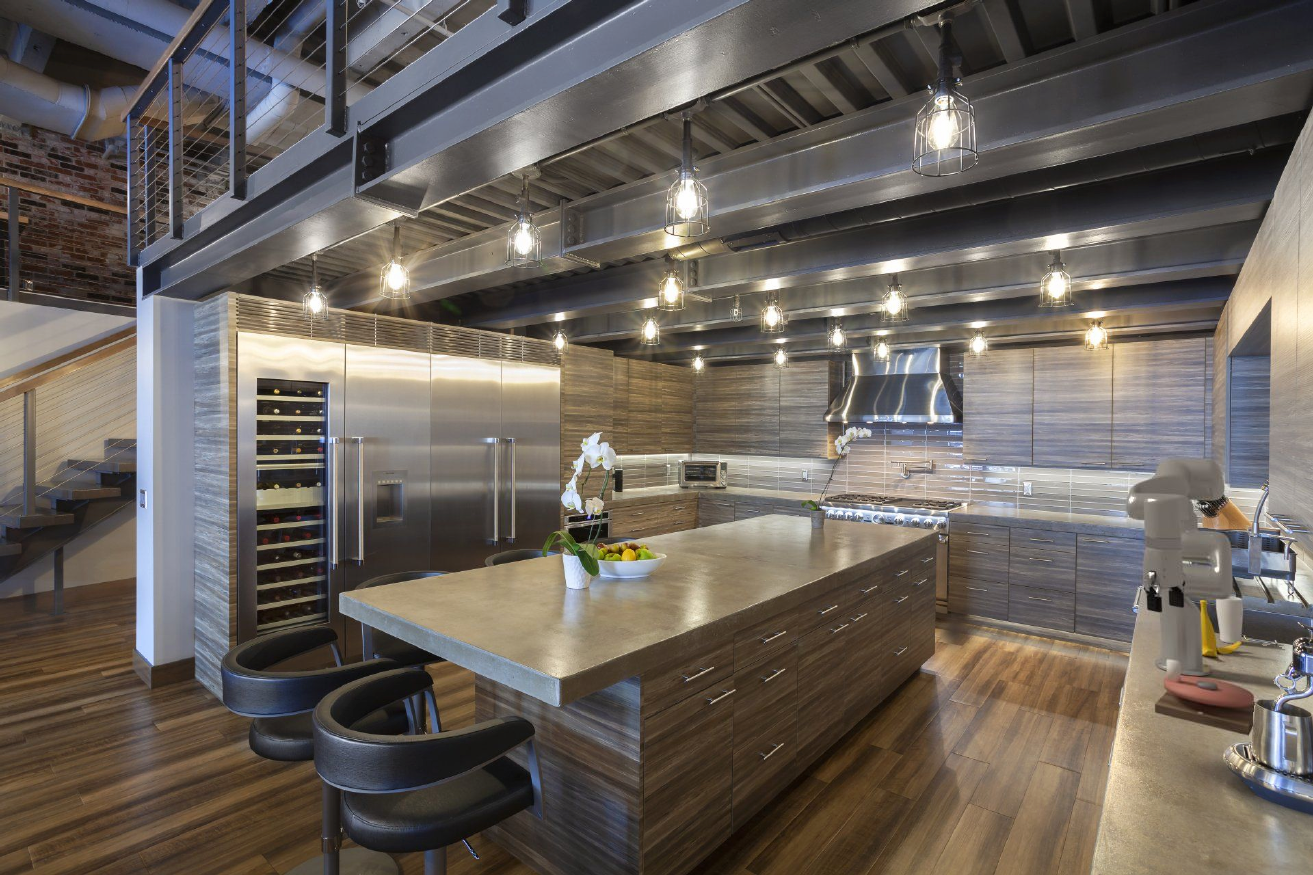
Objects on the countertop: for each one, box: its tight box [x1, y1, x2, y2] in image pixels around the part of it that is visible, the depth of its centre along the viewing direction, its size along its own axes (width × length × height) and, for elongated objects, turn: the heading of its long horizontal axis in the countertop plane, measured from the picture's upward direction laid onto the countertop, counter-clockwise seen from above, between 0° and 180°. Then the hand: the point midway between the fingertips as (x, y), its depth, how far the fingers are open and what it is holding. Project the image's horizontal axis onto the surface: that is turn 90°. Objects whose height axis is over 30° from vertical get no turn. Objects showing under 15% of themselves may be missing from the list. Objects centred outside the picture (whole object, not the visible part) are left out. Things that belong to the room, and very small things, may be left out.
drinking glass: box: [1215, 595, 1244, 645], centre depth 212 cm, size 7×7×15 cm
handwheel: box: [1163, 660, 1255, 707], centre depth 157 cm, size 17×17×6 cm
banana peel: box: [1199, 599, 1243, 658], centre depth 201 cm, size 17×19×17 cm
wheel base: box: [1154, 690, 1256, 736], centre depth 157 cm, size 20×17×4 cm
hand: (1165, 608), depth 164 cm, fingers open, 9 cm apart
